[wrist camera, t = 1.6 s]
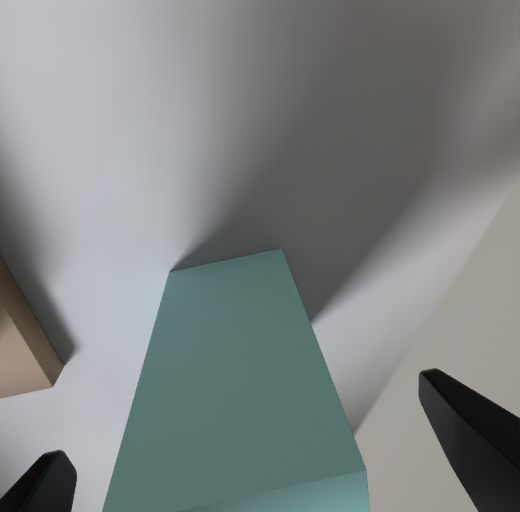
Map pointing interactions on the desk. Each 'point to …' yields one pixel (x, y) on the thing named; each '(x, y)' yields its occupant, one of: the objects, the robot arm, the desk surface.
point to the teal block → (236, 403)
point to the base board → (22, 344)
